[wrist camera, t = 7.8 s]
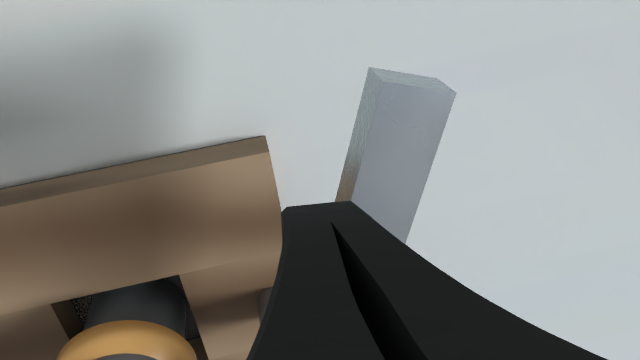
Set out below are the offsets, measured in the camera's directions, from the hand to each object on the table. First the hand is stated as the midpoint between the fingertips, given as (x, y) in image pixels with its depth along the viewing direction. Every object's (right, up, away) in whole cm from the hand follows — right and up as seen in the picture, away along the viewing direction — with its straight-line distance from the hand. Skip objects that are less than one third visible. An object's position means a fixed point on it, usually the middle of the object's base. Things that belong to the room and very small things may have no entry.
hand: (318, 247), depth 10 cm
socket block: (-8, -4, +13) cm, 16 cm away
